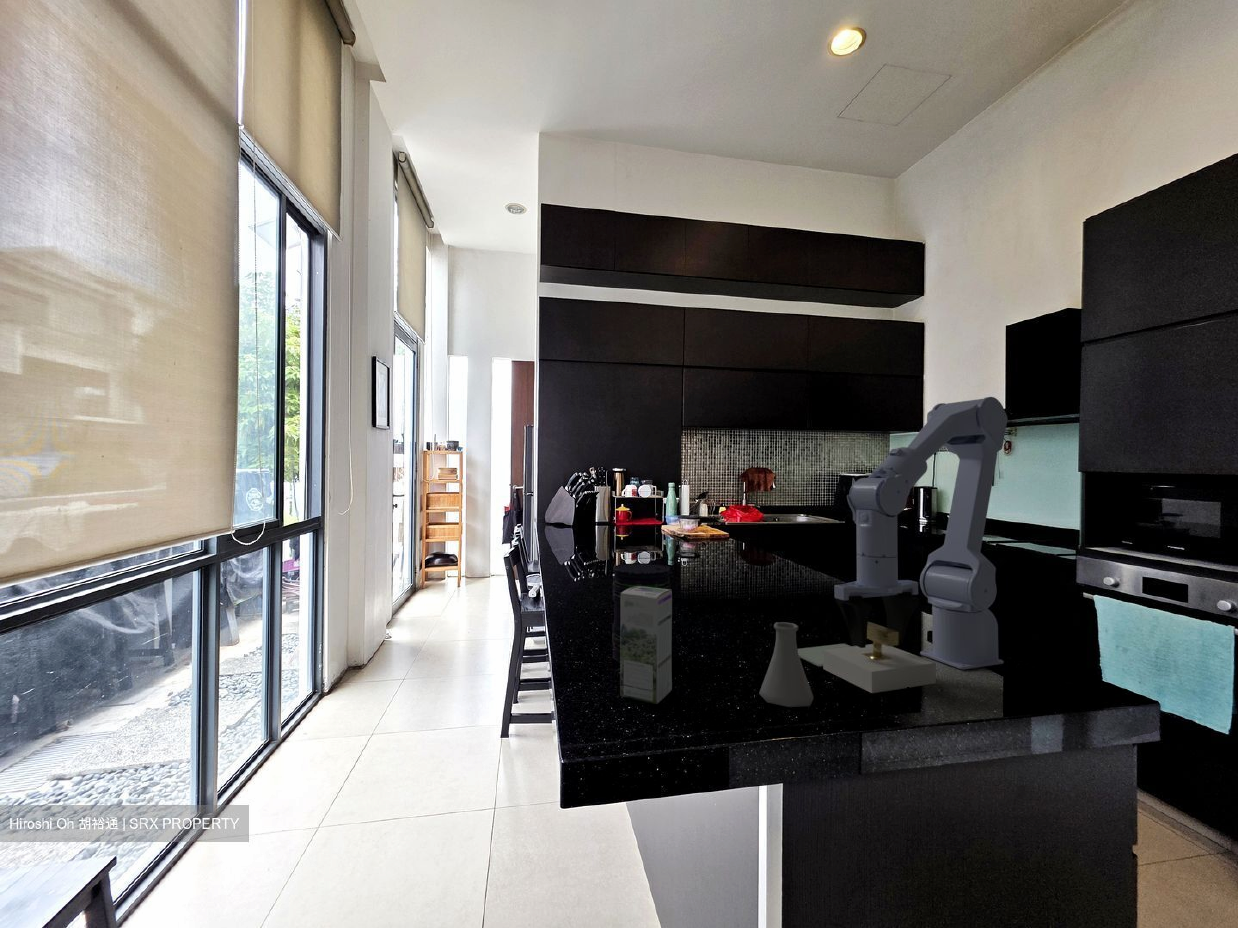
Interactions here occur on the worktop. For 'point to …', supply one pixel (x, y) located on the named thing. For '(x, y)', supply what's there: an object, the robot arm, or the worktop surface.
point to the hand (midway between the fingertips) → (877, 643)
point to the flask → (786, 671)
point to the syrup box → (645, 643)
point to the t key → (880, 639)
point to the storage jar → (629, 578)
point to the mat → (817, 653)
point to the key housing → (879, 668)
